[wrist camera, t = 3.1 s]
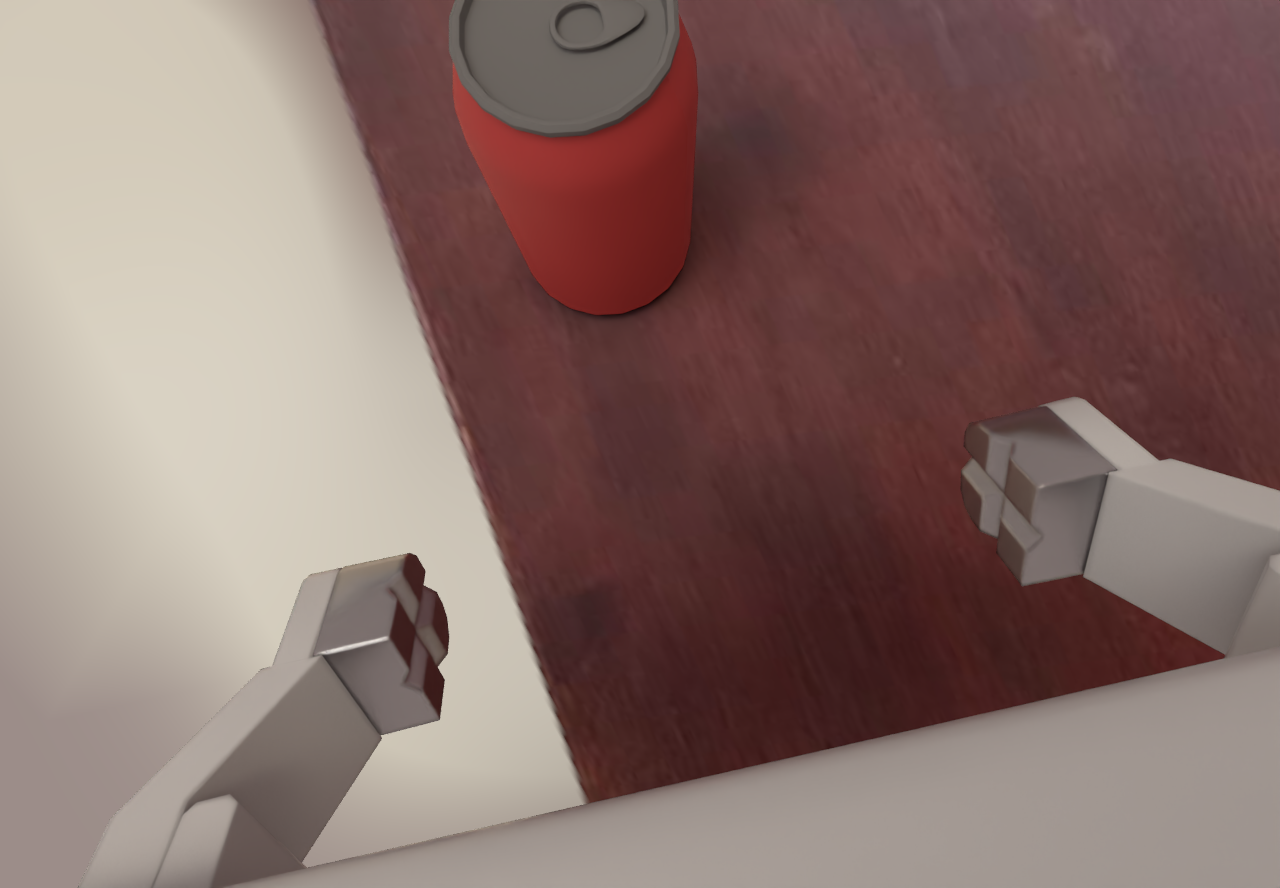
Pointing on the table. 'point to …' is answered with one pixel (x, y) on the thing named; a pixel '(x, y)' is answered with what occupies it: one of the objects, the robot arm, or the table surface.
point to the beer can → (583, 138)
